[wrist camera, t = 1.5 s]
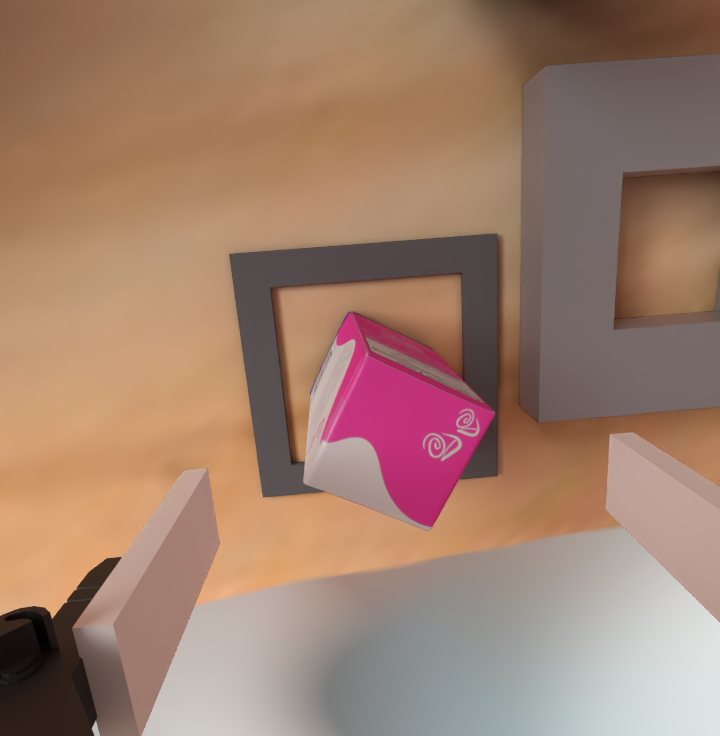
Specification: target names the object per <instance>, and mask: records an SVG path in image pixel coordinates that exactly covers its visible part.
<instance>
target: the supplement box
mask: <svg viewBox="0 0 720 736" xmlns="http://www.w3.org/2000/svg"><path fill="white" fill-rule="evenodd" d="M310 395H311V397H310V411H309V422H308V434H307V443H306V458H305V468H304V479H303V482H304V484H306V485H308V486H311V487H314V488H317V489H319V490H322V491H325V492H328V493H330V494H333V495H336V496H338V497H341V498H344V499H346V500H349V501H352V502H354V503H357V504H360V505H362V506H365V507H368V508H370V509H373V510H375V511H378V512H380V513H383V514H385V515H388V516H390V517H393V518H395V519H398V520H400V521H403V522H406V523H408V524H411V525H413V526H416V527H419V528H421V529H423V530H426V531H430V530H431V529H432V527H433V525H434V523H435V521H436V520H437V518H438V516H439V514H440V512H441V511H442V509H443V507H444V505H445V503H446V502H447V500H448V498H449V496H450V494H451V493H452V491H453V489H454V487H455V486H456V484H457V482H458V480H459V478H460V477H461V475H462V473H463V471H464V469H465V467H466V466H467V464H468V462H469V460H470V459H471V457H472V455H473V453H474V451H475V450H476V448H477V446H478V444H479V443H480V441H481V439H482V437H483V435H484V434H485V432H486V430H487V428H488V426H489V425H490V423H491V421H492V419H493V417H494V416H495V412H494V411H493V410H492V409H491V408H490V407H489V406H488V405H487V403H486V402H485V401H484V400H483V399H482V398H481V397H480V396H479V395H478V394H477V393H475V392H474V391H473V390H472V389H471V388H470V387H469V385H468V384H467V383H466V382H464V381H463V380H462V378H460V377H459V376H458V375H457V374H456V373H455V372H454V371H453V370H452V369H451V368H450V367H449V366H448V365H447V364H446V363H445V362H444V361H443V360H442V359H441V358H440V357H439V356H438V355H437V354H436V353H435V352H434V351H433V350H432V349H431V348H429V347H427V346H425V345H423V344H421V343H419V342H417V341H415V340H412V339H410V338H408V337H406V336H404V335H402V334H400V333H398V332H396V331H394V330H391V329H389V328H387V327H385V326H383V325H381V324H379V323H377V322H374V321H372V320H370V319H368V318H366V317H364V316H361V315H359V314H357V313H355V312H348V314H347V316H346V317H345V319H344V321H343V323H342V325H341V327H340V329H339V331H338V333H337V335H336V337H335V339H334V341H333V343H332V346H331V348H330V350H329V352H328V354H327V356H326V358H325V361H324V363H323V365H322V367H321V369H320V371H319V374H318V376H317V378H316V380H315V383H314V385H313V387H312V390H311V392H310Z"/></svg>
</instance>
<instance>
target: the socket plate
mask: <svg viewBox="0 0 720 736" xmlns="http://www.w3.org/2000/svg"><path fill="white" fill-rule="evenodd" d="M709 171H720V54H709V55H693V56H678V57H663V58H648V59H633V60H618V61H603V62H588V63H573V64H558V65H546V66H545V67H544V68H543V69H542V70H540V71H539V72H538V73H537V74H536V75H534V76H533V77H532V78H531V79H530V80H529V81H527V82H526V83H525V84H524V85H523V102H522V193H521V284H520V374H519V406H520V407H521V408H522V409H524V410H525V411H526V412H527V413H528V414H529V415H530V416H531V417H533V418H534V419H535V420H536V421H537V422H538V423H543V422H555V421H566V420H577V419H589V418H600V417H611V416H623V415H634V414H646V413H657V412H668V411H680V410H691V409H702V408H714V407H720V273H719V281H718V290H717V299H716V308H715V311H707V312H695V313H682V314H670V315H658V316H646V317H634V318H621V319H614V312H615V295H616V279H617V262H618V246H619V230H620V213H621V197H622V180H623V178H628V177H641V176H655V175H668V174H682V173H696V172H709Z"/></svg>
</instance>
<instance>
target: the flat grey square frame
mask: <svg viewBox="0 0 720 736" xmlns="http://www.w3.org/2000/svg"><path fill="white" fill-rule="evenodd" d="M229 256H230V263H231V270H232V277H233V285H234V292H235V299H236V306H237V313H238V321H239V328H240V335H241V342H242V349H243V357H244V364H245V371H246V378H247V385H248V393H249V400H250V407H251V414H252V421H253V429H254V436H255V443H256V450H257V457H258V465H259V472H260V479H261V486H262V493H263V497H272V496H283V495H294V494H305V493H316V492H325V491H322V490H319V489H317V488H314V487H311V486H308V485H306V484H304V482H303V479H304V468H305V462H295V463H292V460H291V452H290V443H289V435H288V427H287V418H286V410H285V402H284V393H283V385H282V377H281V368H280V360H279V351H278V343H277V335H276V326H275V318H274V310H273V301H272V293H271V288H272V287H284V286H297V285H310V284H323V283H335V282H348V281H361V280H374V279H386V278H399V277H412V276H425V275H437V274H450V273H461V295H462V345H463V381H464V382H466V383H467V384H468V385H469V387H470V388H471V389H472V390H473V391H474V392H475V393H477V394H478V395H479V396H480V397H481V398H482V399H483V400H484V401H485V402H486V403H487V405H488V406H489V407H490V408H491V409H492V410H493V411H494V412H495V416H494V417H493V419H492V421H491V423H490V425H489V426H488V428H487V430H486V432H485V434H484V435H483V437H482V439H481V441H480V443H479V444H478V446H477V448H476V450H475V451H474V453H473V455H472V457H471V459H470V460H469V462H468V464H467V466H466V467H465V469H464V471H463V473H462V475H461V477H460V478H459V479H470V478H481V477H492V476H498V353H497V234H485V235H472V236H459V237H446V238H433V239H420V240H406V241H393V242H380V243H367V244H354V245H341V246H328V247H315V248H302V249H288V250H275V251H262V252H249V253H236V254H229Z"/></svg>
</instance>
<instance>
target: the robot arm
mask: <svg viewBox="0 0 720 736" xmlns="http://www.w3.org/2000/svg"><path fill="white" fill-rule="evenodd" d="M606 510H607V511H608V512H609V513H610V514H611V515H612V516H613V517H614V518H615V519H616V520H617V521H618V522H619V523H620V524H621V525H622V526H623V527H624V528H625V529H626V530H627V531H628V532H629V533H630V534H631V535H632V536H633V537H634V538H635V539H636V540H637V541H638V542H639V543H640V544H641V545H642V546H643V547H644V548H645V549H646V550H647V551H648V552H649V553H650V554H651V555H652V556H653V557H654V558H655V559H656V560H657V561H658V562H659V563H660V564H661V565H662V566H663V567H664V568H666V570H667V571H669V573H670V574H671V575H672V576H673V577H674V578H676V579H677V580H678V581H679V582H680V583H681V584H682V585H683V586H684V587H685V588H686V589H687V590H688V591H689V592H690V593H691V594H692V595H693V596H694V597H695V598H696V599H697V600H698V601H699V602H700V603H701V604H702V605H703V606H704V607H705V608H706V609H707V610H708V611H709V612H710V613H711V614H712V615H713V616H714V617H715V618H716V619H717V620H718V621H719V622H720V487H719V486H718V485H716V484H715V483H713V482H711V481H710V480H708V479H707V478H705V477H703V476H702V475H700V474H699V473H697V472H695V471H694V470H692V469H691V468H689V467H688V466H686V465H684V464H683V463H681V462H680V461H678V460H676V459H675V458H673V457H672V456H670V455H668V454H667V453H665V452H664V451H662V450H660V449H659V448H657V447H656V446H654V445H653V444H651V443H649V442H648V441H646V440H645V439H643V438H641V437H640V436H638V435H637V434H635V433H633V432H629V433H617V434H610V441H609V459H608V477H607V495H606ZM219 545H220V540H219V534H218V528H217V522H216V516H215V510H214V504H213V498H212V492H211V486H210V480H209V474H208V468H205V469H193V470H184V471H183V472H182V473H181V475H180V476H179V478H178V479H177V481H176V482H175V483H174V485H173V486H172V488H171V489H170V490H169V492H168V493H167V495H166V496H165V497H164V499H163V500H162V502H161V503H160V505H159V506H158V507H157V509H156V510H155V512H154V513H153V514H152V516H151V517H150V519H149V520H148V521H147V523H146V524H145V526H144V527H143V529H142V530H141V531H140V533H139V534H138V536H137V537H136V538H135V540H134V541H133V543H132V544H131V545H130V547H129V548H128V550H127V551H126V553H125V554H124V555H123V557H117V558H107V559H106V560H104V561H103V562H102V563H100V564H99V565H98V566H96V567H95V568H94V569H92V570H91V571H90V572H89V573H88V574H87V575H86V576H85V578H84V579H83V580H82V581H81V583H80V584H79V585H78V587H77V590H74V592H73V593H72V594H71V596H70V597H69V598H68V599H67V603H64V605H63V606H62V607H61V608H60V610H59V611H58V612H57V614H56V615H55V616H54V617H53V619H52V618H51V615H50V612H49V611H48V610H46V609H45V608H43V607H36V606H32V607H26V608H20V609H17V610H14V611H11V612H9V613H6V614H3V615H1V616H0V736H94V733H93V731H92V726H93V725H94V723H95V721H97V725H98V729H99V733H100V736H141V735H142V733H143V730H144V728H145V725H146V723H147V721H148V718H149V716H150V713H151V711H152V708H153V706H154V703H155V701H156V699H157V696H158V694H159V691H160V689H161V686H162V684H163V681H164V679H165V677H166V674H167V671H168V669H169V667H170V664H171V662H172V659H173V657H174V655H175V652H176V650H177V647H178V645H179V642H180V640H181V637H182V635H183V632H184V630H185V628H186V625H187V623H188V620H189V618H190V616H191V613H192V611H193V608H194V606H195V603H196V601H197V599H198V596H199V594H200V591H201V589H202V586H203V584H204V581H205V579H206V577H207V574H208V572H209V569H210V567H211V564H212V562H213V559H214V557H215V555H216V552H217V550H218V547H219Z"/></svg>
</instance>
